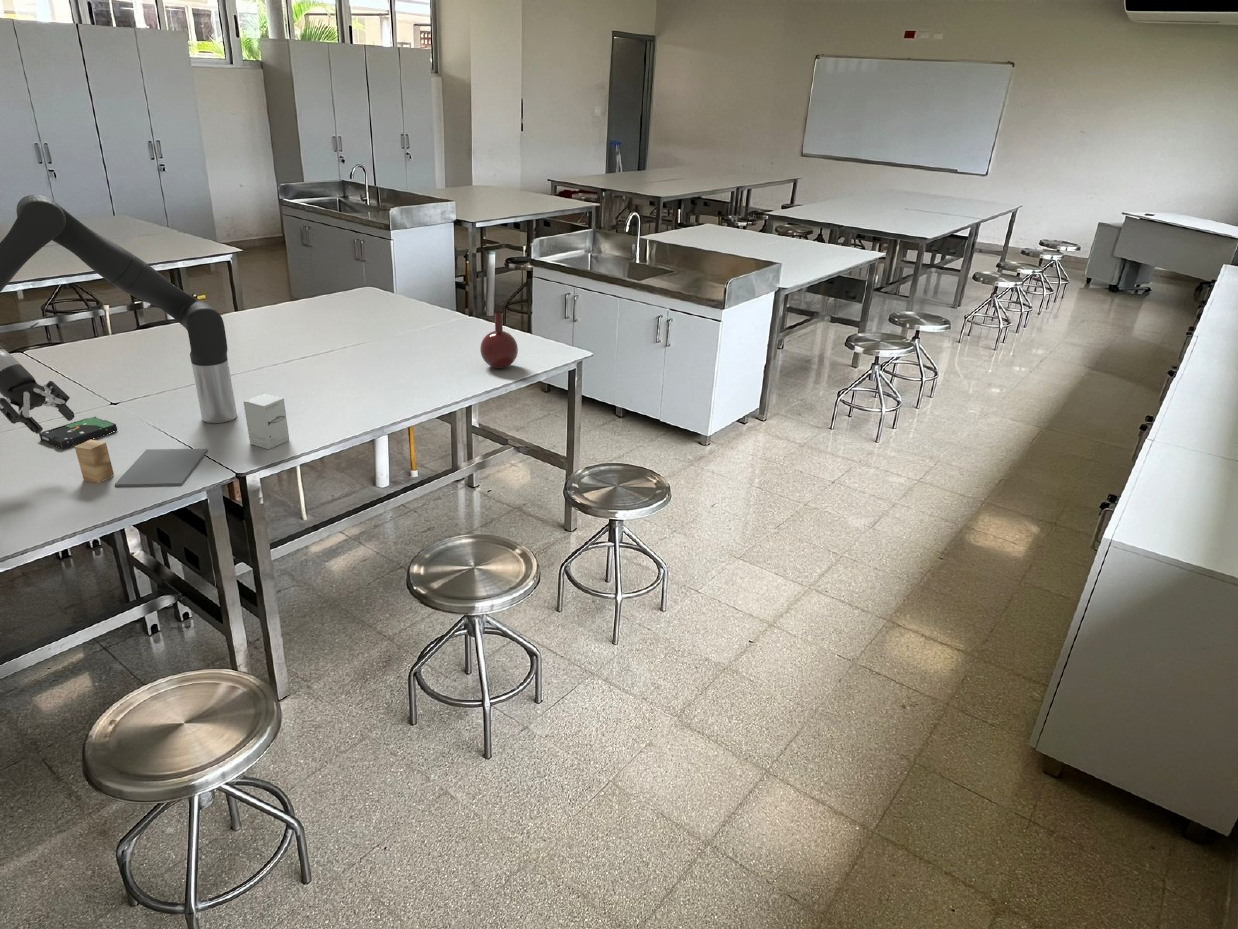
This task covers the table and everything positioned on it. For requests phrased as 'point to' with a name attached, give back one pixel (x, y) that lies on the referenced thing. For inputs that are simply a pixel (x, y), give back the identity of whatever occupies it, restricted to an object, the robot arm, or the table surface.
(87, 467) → the oak block
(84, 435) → the disk drive
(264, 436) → the supplement box
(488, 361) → the round-bottom flask
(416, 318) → the table surface
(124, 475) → the rubber mat
